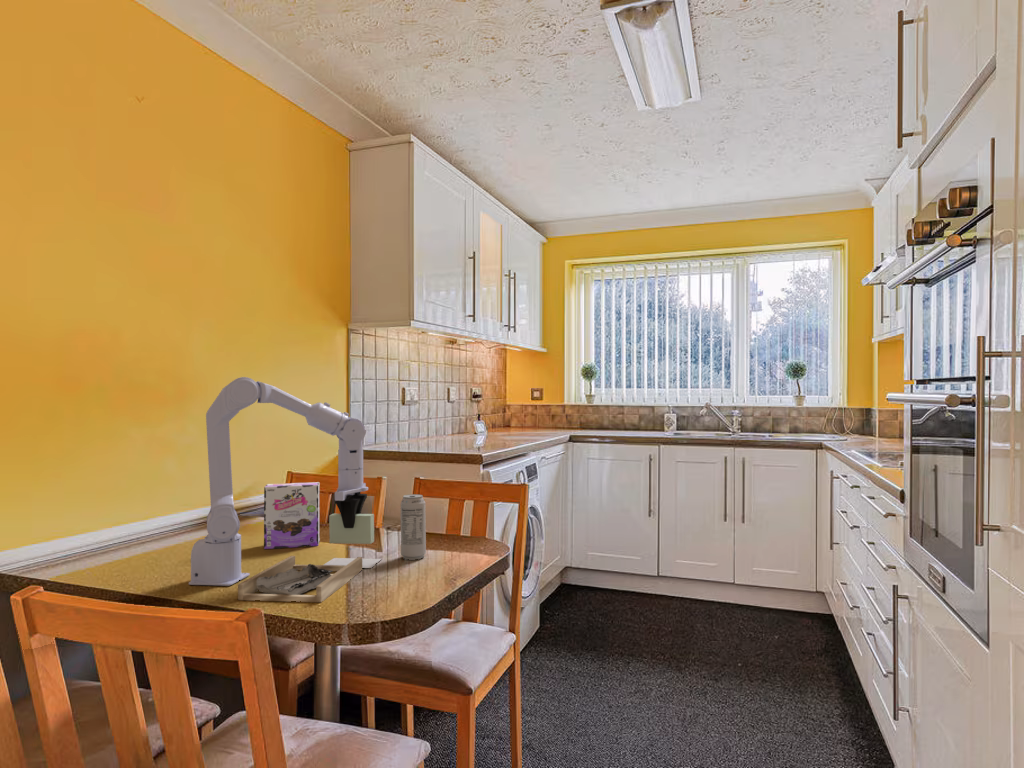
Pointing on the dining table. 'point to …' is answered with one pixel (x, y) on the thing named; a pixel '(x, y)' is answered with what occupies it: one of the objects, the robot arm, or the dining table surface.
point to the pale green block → (352, 530)
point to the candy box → (291, 515)
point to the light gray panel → (344, 561)
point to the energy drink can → (413, 527)
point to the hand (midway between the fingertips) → (351, 526)
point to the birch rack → (322, 590)
